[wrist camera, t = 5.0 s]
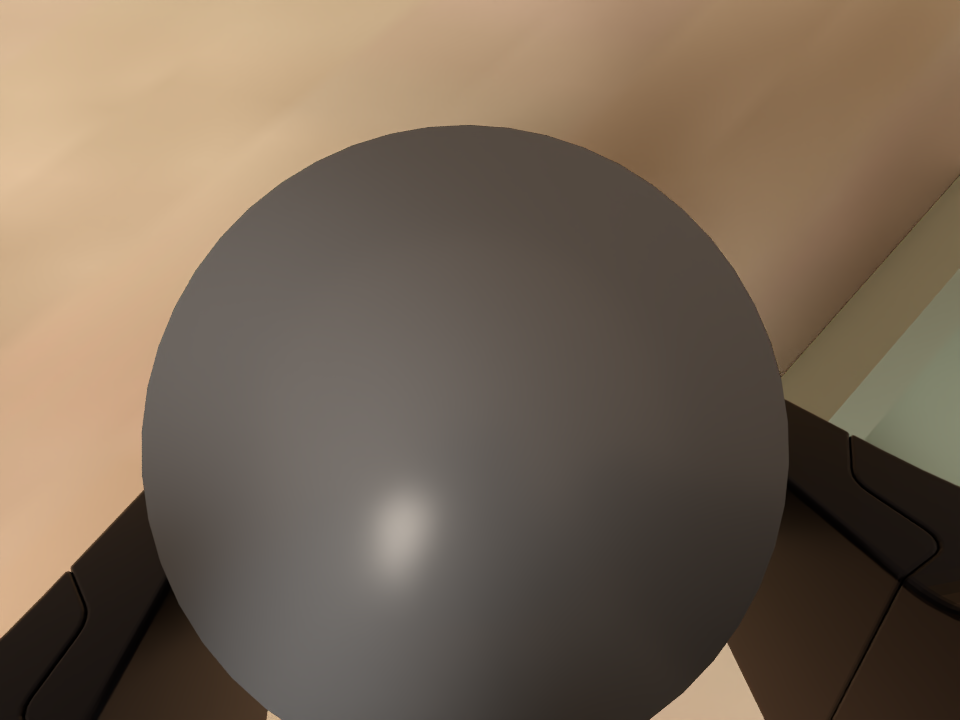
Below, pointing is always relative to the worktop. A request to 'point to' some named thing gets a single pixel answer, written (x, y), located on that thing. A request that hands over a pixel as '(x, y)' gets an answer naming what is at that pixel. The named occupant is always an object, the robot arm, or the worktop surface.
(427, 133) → the ball
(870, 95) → the worktop surface
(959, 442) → the sage bin
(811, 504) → the robot arm
